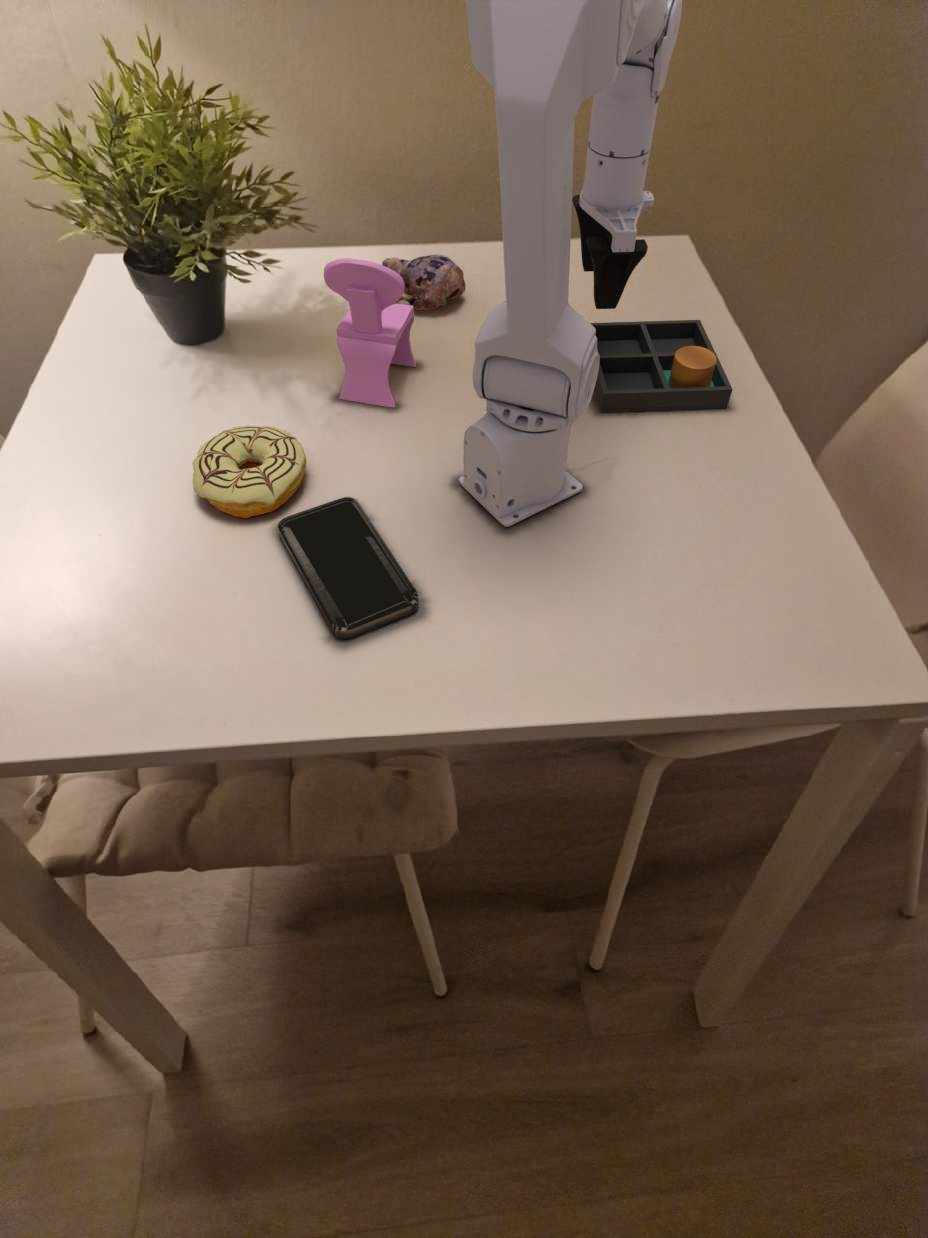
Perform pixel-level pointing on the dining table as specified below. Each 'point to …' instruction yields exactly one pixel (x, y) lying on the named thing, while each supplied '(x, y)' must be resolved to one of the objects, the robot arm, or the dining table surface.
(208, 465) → the decorated donut
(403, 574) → the phone
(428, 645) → the dining table surface
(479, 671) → the dining table surface
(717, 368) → the grid
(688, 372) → the orange cylinder
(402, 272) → the toy tortoise
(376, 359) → the toy chair
